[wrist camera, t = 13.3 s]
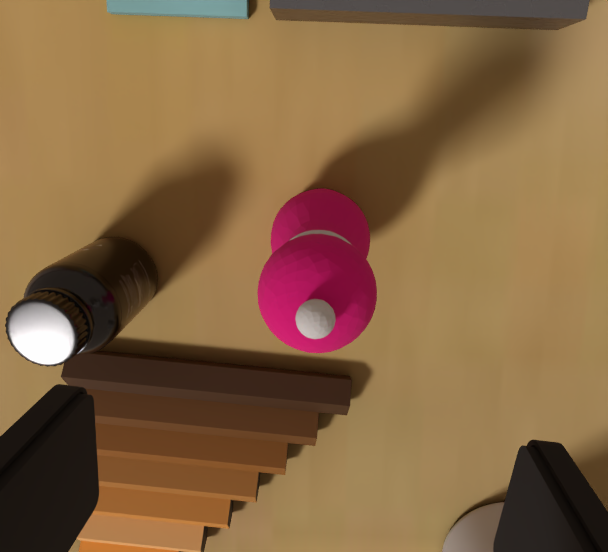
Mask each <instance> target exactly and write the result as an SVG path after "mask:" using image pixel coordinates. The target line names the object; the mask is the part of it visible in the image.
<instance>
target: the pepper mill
mask: <svg viewBox="0 0 608 552" xmlns="http://www.w3.org/2000/svg"><path fill="white" fill-rule="evenodd" d="M369 246H370V232H369V227H368V223H367V220H366V218H365V216H364V214H363V212H362V211H361V209H360V208H359V207H358V206H357V205H356V204H355V202H353V201H352V200H351V199H349V198H348V197H347V196H345V195H343V194H341V193H339V192H336V191H334V190H330V189H324V188H319V189H313V190H308V191H306V192H303V193H300V194H298V195H296V196H295V197H293V198H291V199H290V200H289V201H288V202H286V203H285V205H284V206H283V207H282V208H281V209H280V211H279V212H278V214H277V216H276V218H275V220H274V223H273V227H272V232H271V247H272V255H271V257H270V258H269V260H268V261H267V262H266V264H265V266H264V268H263V270H262V273H261V276H260V280H259V285H258V304H259V308H260V312H261V315H262V317H263V319H264V321H265V323H266V324H267V326H268V327H269V329H270V330H271V332H272V333H273V334H274V335H275V336H276V337H277V338H279V339H280V340H281V341H282V342H284V343H285V344H287V345H289V346H291V347H293V348H295V349H298V350H301V351H305V352H309V353H325V352H331V351H334V350H337V349H340V348H342V347H344V346H346V345H347V344H349V343H351V342H352V341H353V340H355V339H356V338H357V337H358V336H359V335H360V334H361V333H362V332H363V331H364V329H365V328H366V327H367V325H368V323H369V322H370V320H371V318H372V316H373V313H374V310H375V305H376V300H377V289H376V281H375V277H374V274H373V271H372V269H371V267H370V265H369V263H368V261H367V260H366V258H367V255H368V252H369Z"/></svg>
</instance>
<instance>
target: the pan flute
mask: <svg viewBox="0 0 608 552" xmlns="http://www.w3.org/2000/svg"><path fill="white" fill-rule="evenodd" d="M61 377H62V379H63V380H64V381H65V382H66V383H67V384H68V385H69V386H78V387H84V388H85V389H86V391H87V394H89V395H92V396H93V398H94V410H95V427H96V444H97V461H98V478H99V498H98V502H97V505H96V508H95V509H94V511H93V513H92V515H91V516H90V518H89V519H88V521H87V522H86V524H85V526H84V527H83V529H82V530H81V532H80V534H79V535H78V537H77V538H76V539H79V540H81V543H80V548H79V552H204V548H205V544H206V540H207V526H209V527H218V528H228V529H229V527H230V522H231V517H232V510H233V500H238V501H248V502H257V496H258V489H259V479H260V472H263V473H272V474H282V475H285V471H286V462H287V452H288V443H293V444H303V445H312V446H315V444H316V439H317V429H318V417H319V412H320V413H330V414H340V415H347V413H348V410H349V407H350V396H351V381H352V380H351V377H350V376H344V375H334V374H324V373H314V372H304V371H294V370H284V369H274V368H264V367H254V366H244V365H234V364H224V363H214V362H204V361H194V360H185V359H175V358H165V357H155V356H145V355H135V354H125V353H115V352H105V351H95V352H92V353H88V354H82V355H75V356H74V357H73V358H71V359H70V360H69V361H68V362H65V363H64V367H63V371H62V375H61Z"/></svg>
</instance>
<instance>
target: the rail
mask: <svg viewBox="0 0 608 552" xmlns="http://www.w3.org/2000/svg"><path fill="white" fill-rule="evenodd" d="M588 6H589V0H270V9H271V11H272V13H273V15H274V17H275V19H276V20H291V21H319V22H347V23H375V24H403V25H432V26H460V27H488V28H516V29H544V30H559V29H561V28H564V27H567V26H569V25H572V24H574V23H577V22H580V21H582V20H585V19H586V16H587V11H588Z"/></svg>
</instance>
